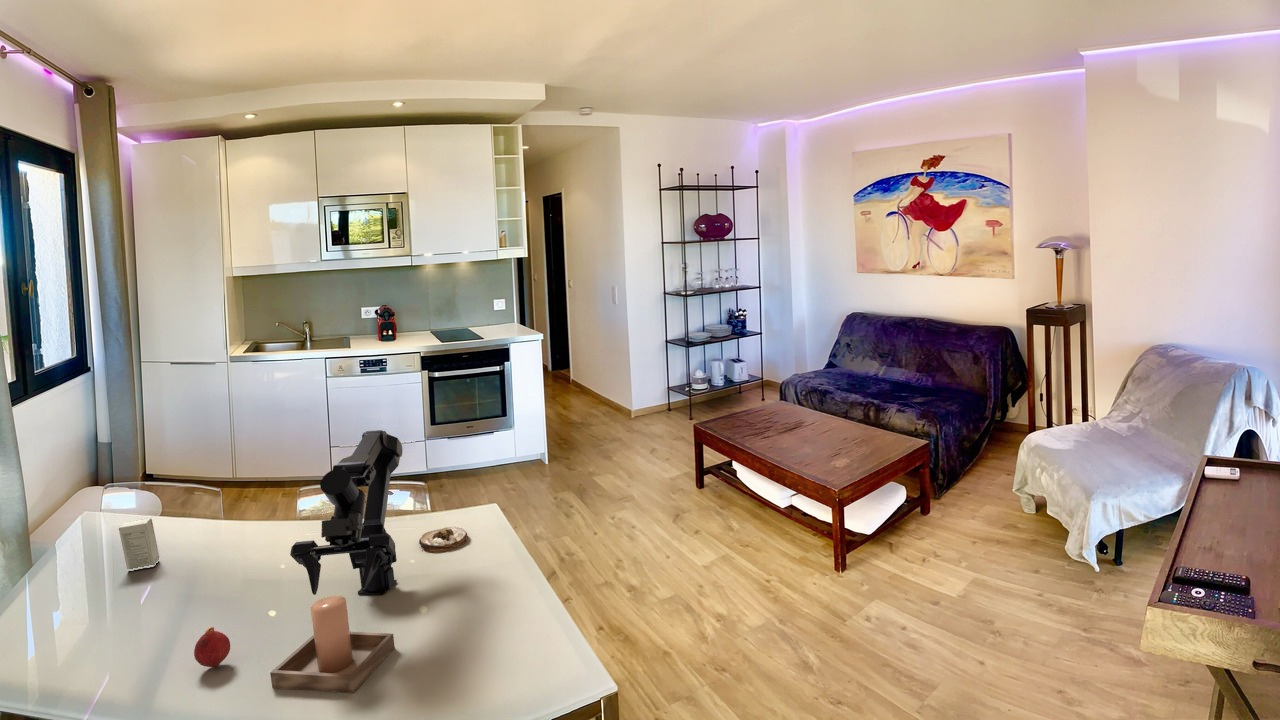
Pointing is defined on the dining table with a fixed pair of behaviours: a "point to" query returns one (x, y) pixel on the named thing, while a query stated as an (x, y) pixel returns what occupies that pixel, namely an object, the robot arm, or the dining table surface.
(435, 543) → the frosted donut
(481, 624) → the dining table surface
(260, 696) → the dining table surface
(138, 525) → the skincare box
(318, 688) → the box
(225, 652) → the onion
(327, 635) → the terracotta cylinder
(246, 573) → the dining table surface
